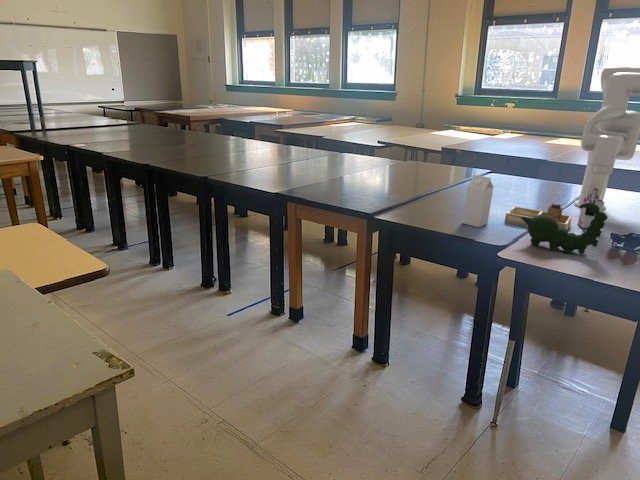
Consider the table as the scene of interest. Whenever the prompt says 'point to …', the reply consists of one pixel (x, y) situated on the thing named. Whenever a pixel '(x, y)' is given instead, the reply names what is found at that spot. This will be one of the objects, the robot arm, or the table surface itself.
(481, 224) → the milk carton
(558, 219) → the box
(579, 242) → the toy figurine
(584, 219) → the supplement box
